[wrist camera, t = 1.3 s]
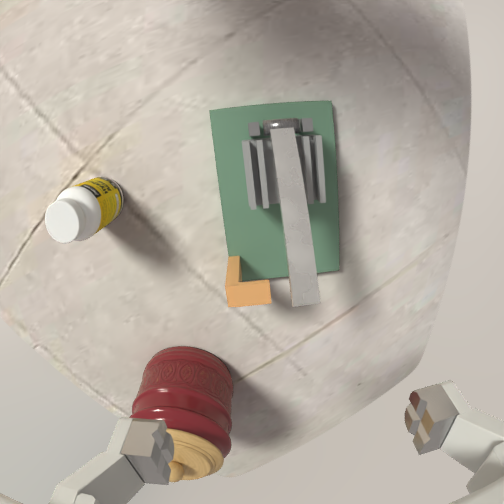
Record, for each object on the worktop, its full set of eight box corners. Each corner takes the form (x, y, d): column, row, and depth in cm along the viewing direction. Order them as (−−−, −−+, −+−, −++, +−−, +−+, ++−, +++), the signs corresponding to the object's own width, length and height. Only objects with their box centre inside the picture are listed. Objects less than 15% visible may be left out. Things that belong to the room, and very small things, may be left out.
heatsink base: (210, 111, 30) (202, 106, 24) (328, 101, 30) (347, 95, 24) (232, 278, 37) (230, 306, 32) (336, 266, 37) (352, 292, 31)
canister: (160, 329, 40) (123, 435, 24) (248, 363, 42) (250, 472, 26) (137, 387, 44) (107, 479, 28) (213, 414, 47) (206, 508, 30)
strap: (262, 125, 27) (262, 117, 25) (296, 123, 27) (297, 114, 25) (285, 307, 24) (286, 307, 23) (324, 302, 24) (327, 302, 23)
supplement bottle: (127, 179, 33) (88, 198, 24) (122, 224, 35) (85, 257, 26) (86, 172, 32) (39, 189, 23) (82, 216, 34) (39, 245, 25)
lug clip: (228, 256, 35) (224, 287, 29) (264, 252, 35) (269, 282, 29) (231, 274, 36) (228, 307, 29) (266, 270, 36) (271, 303, 29)
